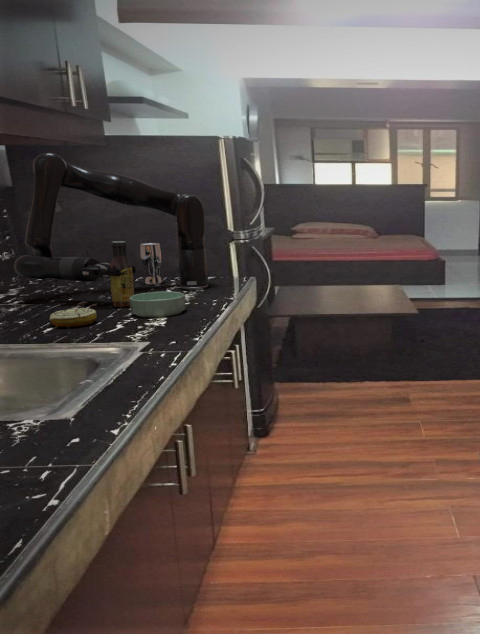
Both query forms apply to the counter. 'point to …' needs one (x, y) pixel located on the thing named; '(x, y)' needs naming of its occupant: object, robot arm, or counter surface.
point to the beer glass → (151, 262)
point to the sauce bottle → (124, 283)
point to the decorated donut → (73, 317)
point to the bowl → (157, 304)
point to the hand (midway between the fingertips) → (127, 271)
